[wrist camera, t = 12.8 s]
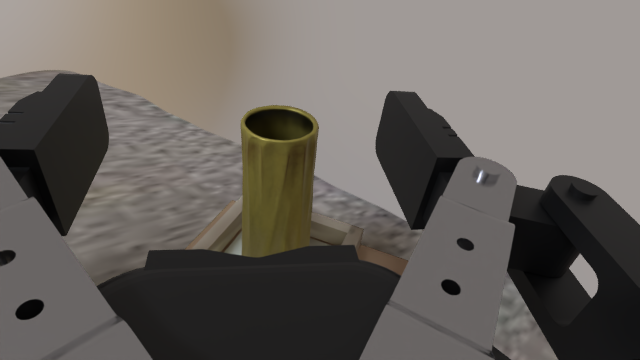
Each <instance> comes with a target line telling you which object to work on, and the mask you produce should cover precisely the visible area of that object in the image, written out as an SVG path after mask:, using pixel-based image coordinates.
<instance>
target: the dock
mask: <svg viewBox="0 0 640 360" xmlns="http://www.w3.org/2000/svg"><path fill="white" fill-rule="evenodd" d="M242 198H243V195H242V196H241V197H240V198H239V199H238V200H237V201H233V200H232V201H231V202H230V203H229V204H228V205H227V206H226V207H225V208H224V209H223V210H222V211H221V212H220V213H219V214H218V215H217V217H216V218H215V219H214V220H213V221H212V222H211V223H210V224H209V225H208V226H207V227H206V228H205V229H204V230H203V231H202V232H201V233H200V234H199V235H198V236H197V237H196V238H195V239H194V240H193V241H192V242H191V243H190V244H189V245H188V247H187V248H186V249H185V250H187V249H206V250H212V251H218V252H224V253H230V254H236V255H242ZM362 234H363V229H362V228H359V227H356V226H353V225H350V224H347V223H344V222H341V221H338V220H335V219H332V218H329V217H326V216H323V215H320V214H317V213H314V212H312V217H311V229H310V242H309V246H327V245H355V248H356V252H357V255H358V258H359V260H364V261H368V262H372V263H375V264H378V265H380V266H383V267H386V268H388V269H390V270H392V271H394V272H396V273H397V274H399V275H401V276H402V274H403V272H404V270H405V268H406V266H407V264H408V262H409V261H407V260H404V259H402V258H399V257H396V256H393V255H390V254H387V253H384V252H381V251H378V250H375V249H373V248H370V247H367V246H364V245H361V244H360V243H361V239H362Z"/></svg>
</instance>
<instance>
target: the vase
mask: <svg viewBox="0 0 640 360" xmlns="http://www.w3.org/2000/svg"><path fill="white" fill-rule="evenodd" d="M318 129H319V126H318V123H317V121H316V119H315V118H314V117H313V116H312V115H311V114H309V113H307V112H306V111H303V110H301V109H298V108H294V107H290V106H278V105H273V106H272V105H271V106H264V107H258V108H255V109H252V110H250V111H248V112H247V113H246V114H245V115H244V117H243V118H242V120H241V138H242V162H243V198H242V256H248V257H264V256H268V255H272V254H276V253H281V252H285V251H289V250H293V249H297V248H302V247H306V246H309V242H310V229H311V217H312V201H313V180H314V169H315V158H316V148H317V137H318Z"/></svg>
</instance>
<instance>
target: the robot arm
mask: <svg viewBox="0 0 640 360" xmlns="http://www.w3.org/2000/svg"><path fill="white" fill-rule="evenodd" d="M108 144H109V133H108V127H107V123H106V118H105V114H104V109H103V105H102V101H101V96H100V92H99V88H98V84H97V81H96V79H95V78H94V77H93V76H92V75H79V74H58V75H57V76H56V77H55V78H54V79H53V80H52V81H51V83H50V84H49V85H48V86H47V87H46V88H45V89H44V90H43V91H42V92H35V93H33V94H31V95H29V96H27V97H25V98H23V99H21V100H19V101H18V102H17V103H16V104H15V105H14V106H13V107H12V108H11V109H10V110H9V111H8V114H5V115H4V116H3V117H2V118H1V119H0V360H511V359H509V358H508V357H507V356H505V355H504V354H503V353H502V352H500V351H499V350H498V349H496V348H495V347H494V346H493V345H492V344H493V339H494V334H495V329H496V323H497V318H498V313H499V308H500V303H501V298H502V293H503V287H504V282H505V277H506V272H508V274H509V276H510V277H511V279H512V281H513V282H514V284H515V286H516V288H517V289H518V291H519V293H520V294H521V296H522V298H523V300H524V301H525V303H526V305H527V306H528V308H529V310H530V312H531V313H532V315H533V317H534V318H535V320H536V322H537V324H538V325H539V327H540V329H541V330H542V332H543V334H544V336H545V337H546V339H547V341H548V342H549V344H550V346H551V348H552V349H553V351H554V353H555V354H556V356H557V358H558V360H640V225H639V224H638V223H637V222H636V221H635V220H634V219H633V218H632V217H631V216H630V215H629V214H628V213H627V212H626V211H625V210H624V209H622V207H621V206H620V205H619V204H617V203H616V202H615V201H614V200H613V199H612V198H611V197H610V196H609V195H608V194H607V193H606V192H605V191H603V190H602V189H601V188H599V187H597V186H596V185H594V184H592V183H590V182H588V181H586V180H583V179H580V178H577V177H573V176H567V175H559V176H555V177H553V178H552V179H551V181H550V183H549V184H548V186H547V188H546V189H545V191H543V190H538V189H534V188H529V187H524V186H519V185H517V181H516V178H515V176H514V175H513V173H512V172H510V170H508V169H507V168H506V167H504V166H503V165H500V164H499V163H497V162H494V161H492V160H489V159H486V158H480V157H475V156H474V155H473V154H472V153H471V151H470V150H469V149H468V148H467V146H466V145H465V144H464V143H463V141H462V140H461V139H460V138H459V137H457V134H456V133H455V131H454V130H453V129H451V127H450V125H449V124H448V123H447V122H446V120H445V119H444V118H443V117H442V116H440V115H439V114H437V113H436V112H434V111H433V110H431V109H428V108H427V107H426V105H425V104H424V103H423V102H422V100H421V99H420V98H419V96H418V95H417V94H416V93H415V92H401V91H390V92H389V93H388V94H387V96H386V99H385V103H384V107H383V111H382V116H381V120H380V124H379V128H378V132H377V137H376V154H377V157H378V159H379V161H380V164H381V166H382V168H383V170H384V172H385V174H386V177H387V179H388V181H389V183H390V185H391V187H392V189H393V192H394V194H395V196H396V198H397V200H398V202H399V204H400V207H401V209H402V211H403V213H404V215H405V217H406V220H407V222H408V224H409V226H410V228H411V230H418V229H424V231H423V233H422V235H421V237H420V239H419V241H418V243H417V245H416V247H415V249H414V251H413V253H412V255H411V257H410V260H409V262H408V264H407V266H406V268H405V270H404V272H403V274H402V276H401V275H399V274H397V273H396V272H394V271H392V270H390V269H388V268H386V267H383V266H380V265H378V264H375V263H372V262H368V261H364V260H359V258H358V255H357V252H356V248H355V245H327V246H306V247H302V248H297V249H293V250H289V251H285V252H281V253H276V254H272V255H268V256H264V257H248V256H242V255H236V254H230V253H224V252H218V251H212V250H206V249H187V250H152V251H149V253H148V257H147V261H146V265H145V267H143V268H139V269H135V270H132V271H129V272H126V273H123V274H121V275H118V276H116V277H114V278H111V279H109V280H107V281H106V282H104V283H102V284H100V285H98V286H96V285H95V284H94V283H93V281H92V280H91V278H90V277H89V275H88V274H87V272H86V271H85V269H84V268H83V267H82V265H81V264H80V262H79V261H78V259H77V258H76V256H75V255H74V254H73V252H72V251H71V249H70V248H69V246H68V245H67V243H66V242H65V240H64V239H63V238H62V236H66V235H67V233H68V231H69V229H70V227H71V225H72V223H73V221H74V219H75V217H76V214H77V212H78V210H79V208H80V206H81V204H82V202H83V200H84V198H85V196H86V194H87V192H88V189H89V187H90V185H91V183H92V181H93V179H94V177H95V175H96V173H97V171H98V169H99V167H100V165H101V162H102V160H103V158H104V156H105V154H106V152H107V149H108ZM579 254H581V255H582V256H583V257H584V259H585V260H586V261H587V262H588V263H589V265H590V266H591V267H592V268H593V270H594V271H595V273H596V275H597V278H598V290H597V293H596V294H595V296H594V297H593V298H592V299H591V297H590V296H589V295H588V293H587V292H586V291H585V289H584V288H583V287H582V285H581V284H580V283H579V281H578V280H577V279H576V277H575V276H574V275H573V273H572V272H571V271H570V269H569V267H570V266H571V265H572V263H573V262H574V260H575V259H576V258H577V257H578V255H579Z"/></svg>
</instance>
